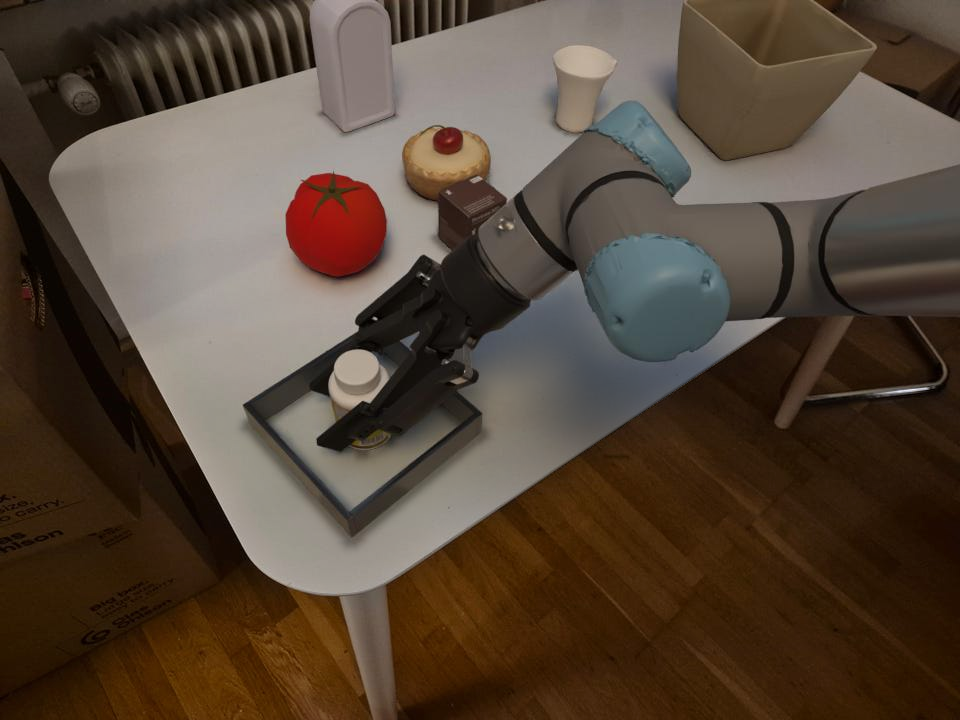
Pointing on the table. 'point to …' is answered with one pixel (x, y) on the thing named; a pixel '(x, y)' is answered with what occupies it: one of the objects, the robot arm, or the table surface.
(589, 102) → the cup
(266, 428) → the dark grey square frame
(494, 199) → the box
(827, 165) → the table surface
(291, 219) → the tomato
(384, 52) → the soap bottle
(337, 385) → the supplement bottle
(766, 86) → the flower pot
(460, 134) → the pastry
